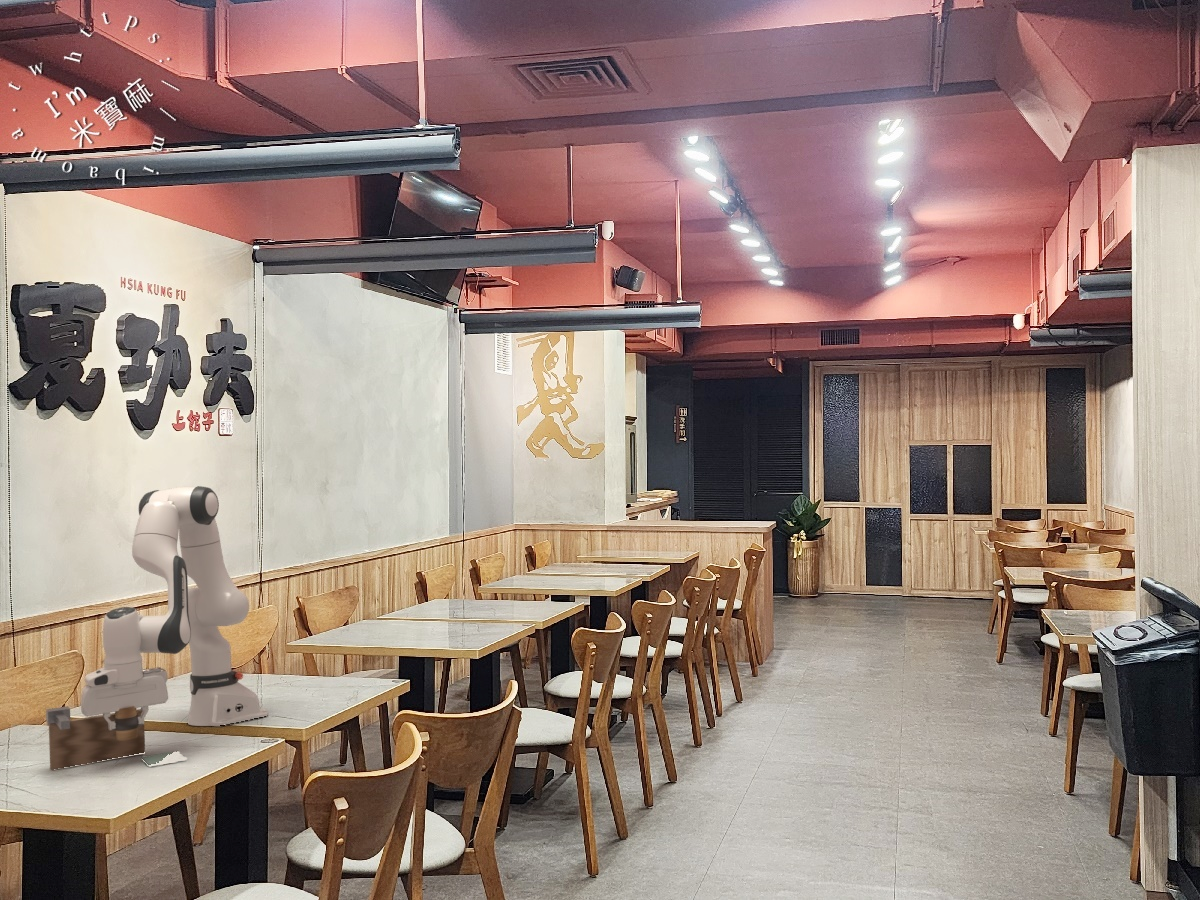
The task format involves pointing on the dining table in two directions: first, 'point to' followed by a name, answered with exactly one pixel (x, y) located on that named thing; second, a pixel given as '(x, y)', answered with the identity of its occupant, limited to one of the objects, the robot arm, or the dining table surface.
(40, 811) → the dining table surface
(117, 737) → the spool
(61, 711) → the clamp bar
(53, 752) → the board
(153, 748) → the dining table surface
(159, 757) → the mat
